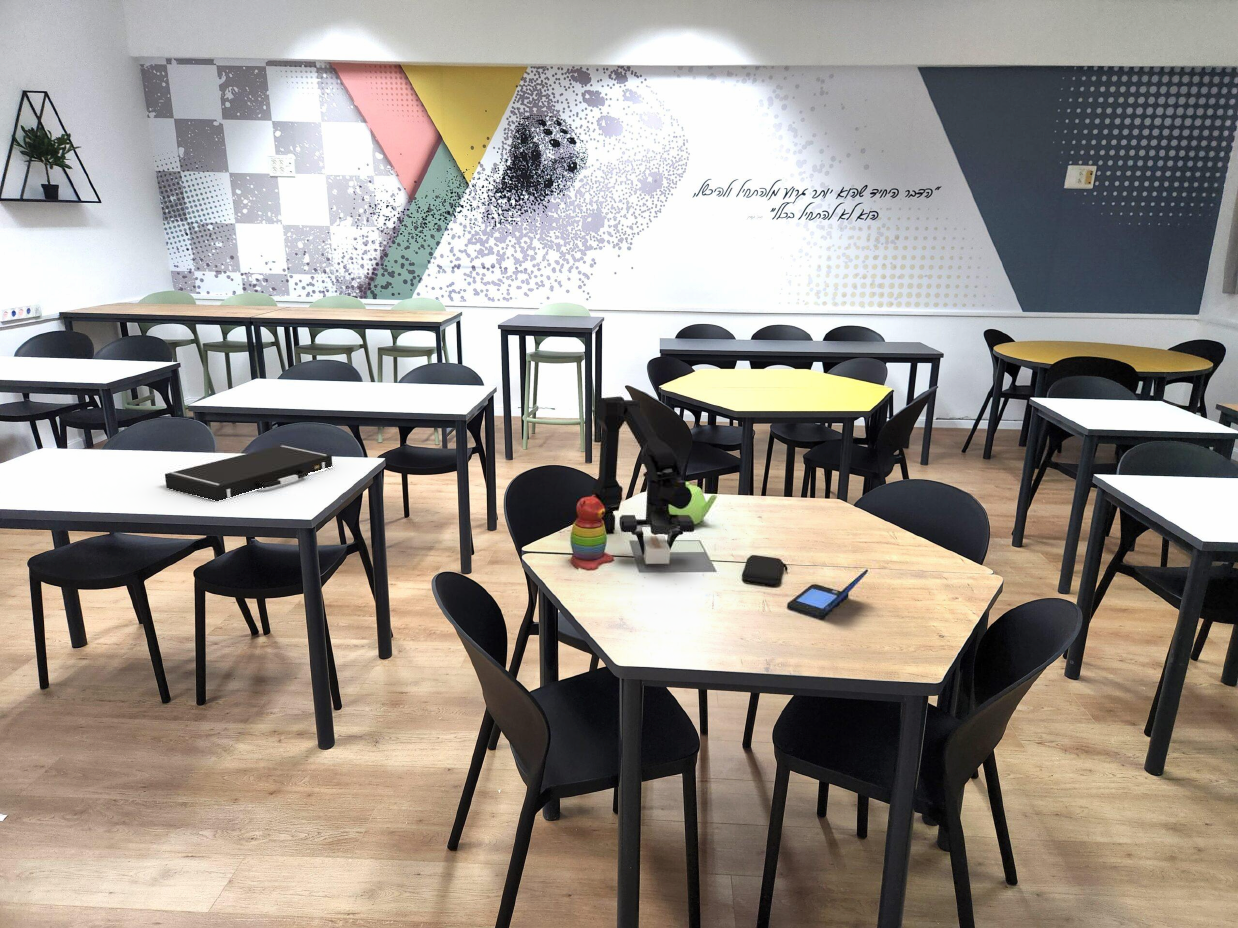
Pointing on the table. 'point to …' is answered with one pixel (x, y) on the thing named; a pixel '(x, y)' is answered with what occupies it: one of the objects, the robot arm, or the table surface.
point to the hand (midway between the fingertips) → (655, 554)
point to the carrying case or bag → (763, 570)
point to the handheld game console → (821, 599)
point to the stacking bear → (589, 535)
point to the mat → (677, 558)
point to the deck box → (656, 550)
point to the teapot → (695, 505)
